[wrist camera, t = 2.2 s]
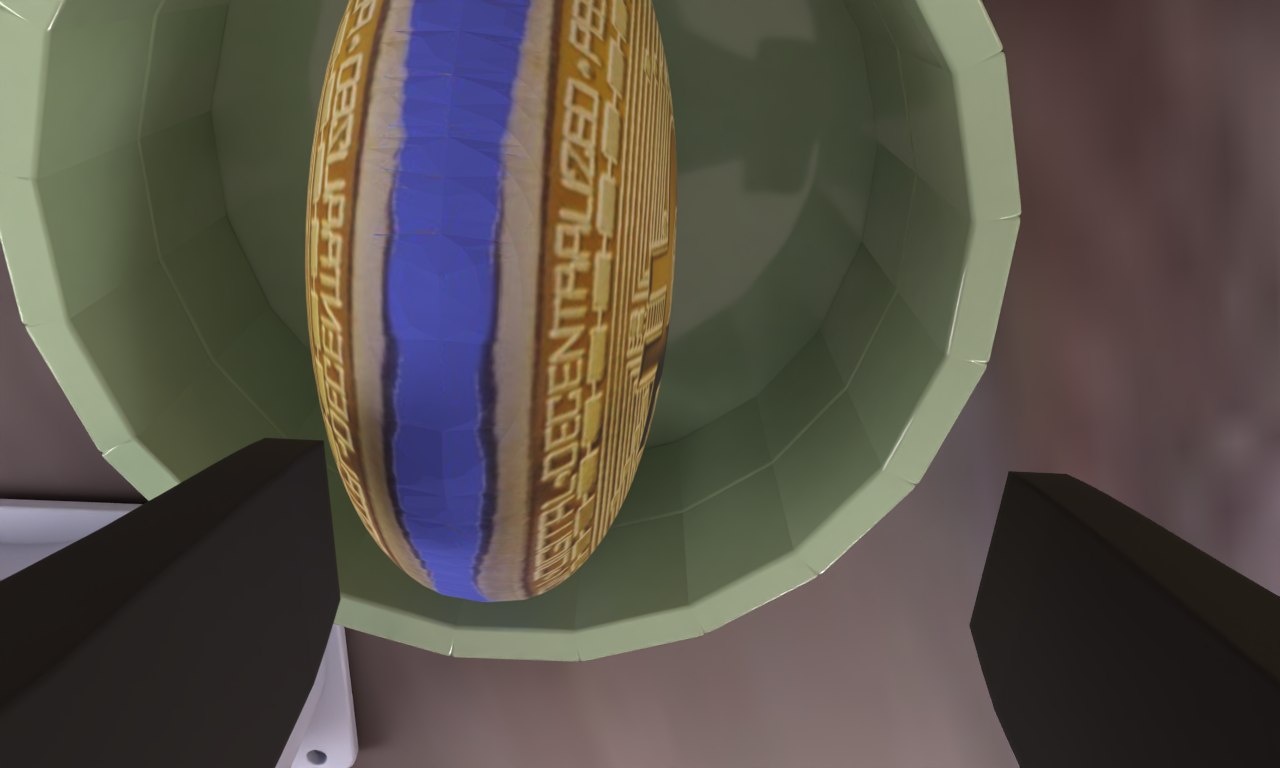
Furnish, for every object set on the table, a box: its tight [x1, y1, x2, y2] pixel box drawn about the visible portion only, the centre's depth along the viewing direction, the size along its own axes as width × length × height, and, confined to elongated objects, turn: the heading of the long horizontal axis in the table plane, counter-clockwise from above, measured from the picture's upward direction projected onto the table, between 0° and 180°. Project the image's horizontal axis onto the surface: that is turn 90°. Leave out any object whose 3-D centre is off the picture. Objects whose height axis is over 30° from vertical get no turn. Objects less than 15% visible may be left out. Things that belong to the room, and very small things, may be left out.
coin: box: [305, 0, 677, 602], centre depth 14 cm, size 10×6×10 cm, turn 16°
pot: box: [0, 0, 1022, 662], centre depth 16 cm, size 14×14×6 cm
